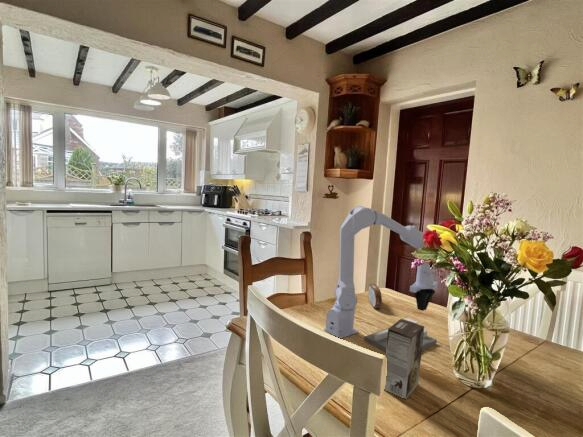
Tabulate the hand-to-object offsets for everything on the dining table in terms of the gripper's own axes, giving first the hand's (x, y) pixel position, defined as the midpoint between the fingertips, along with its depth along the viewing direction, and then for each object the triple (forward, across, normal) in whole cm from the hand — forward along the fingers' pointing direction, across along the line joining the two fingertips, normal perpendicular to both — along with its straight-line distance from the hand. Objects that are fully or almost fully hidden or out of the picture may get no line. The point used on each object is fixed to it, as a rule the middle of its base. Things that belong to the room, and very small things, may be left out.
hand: (421, 309), depth 116 cm
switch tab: (+8, -7, 0) cm, 10 cm away
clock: (+10, +10, +28) cm, 31 cm away
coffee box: (+10, -33, -15) cm, 37 cm away
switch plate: (+9, -11, 0) cm, 14 cm away
